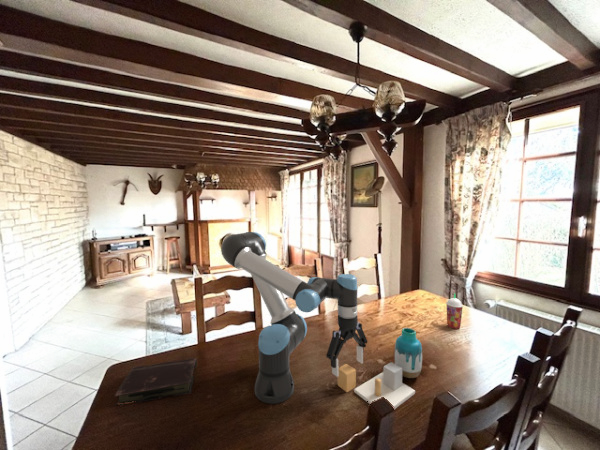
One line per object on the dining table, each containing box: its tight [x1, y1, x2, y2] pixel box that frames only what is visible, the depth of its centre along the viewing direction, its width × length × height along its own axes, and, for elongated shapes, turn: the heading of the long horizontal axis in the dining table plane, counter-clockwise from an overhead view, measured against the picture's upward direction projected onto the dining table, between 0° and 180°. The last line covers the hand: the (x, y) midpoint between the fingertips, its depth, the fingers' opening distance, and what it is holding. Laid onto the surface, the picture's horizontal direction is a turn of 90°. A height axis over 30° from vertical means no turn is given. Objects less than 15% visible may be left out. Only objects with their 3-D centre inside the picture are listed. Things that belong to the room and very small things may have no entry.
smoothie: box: [446, 293, 464, 330], centre depth 151 cm, size 8×8×20 cm
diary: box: [114, 357, 198, 406], centre depth 103 cm, size 19×25×5 cm
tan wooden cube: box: [337, 363, 357, 393], centre depth 101 cm, size 5×5×7 cm
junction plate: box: [353, 361, 416, 409], centre depth 98 cm, size 18×14×8 cm
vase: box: [394, 327, 423, 379], centre depth 108 cm, size 11×11×19 cm
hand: (348, 368), depth 101 cm, fingers open, 13 cm apart
